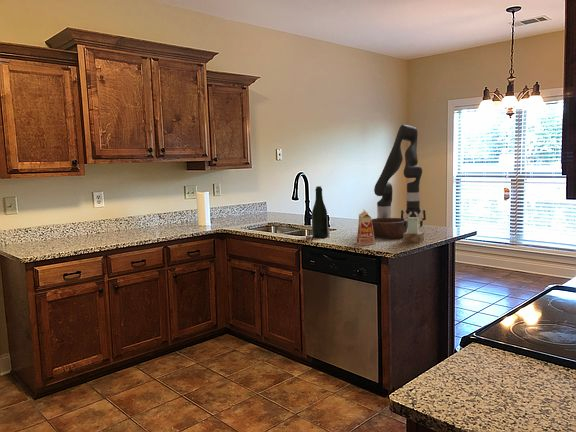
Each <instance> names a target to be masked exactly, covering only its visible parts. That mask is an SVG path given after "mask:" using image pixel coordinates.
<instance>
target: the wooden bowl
mask: <svg viewBox="0 0 576 432" xmlns="http://www.w3.org/2000/svg"><path fill="white" fill-rule="evenodd" d="M371 220H372V225H373V232H374V238H378V239H397V238H399V239H400V238H403V234H404V233H406V232H408V219H407V220H406V221H407V227H405V226H404V221H403V220H401V217H391V218H377V217H376V218H371Z"/></svg>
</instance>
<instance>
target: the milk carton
mask: <svg viewBox="0 0 576 432" xmlns="http://www.w3.org/2000/svg"><path fill="white" fill-rule="evenodd" d="M371 219H372V216H370V215H369V213H368V212H367V211H366V210H365V209H364V208H363V209H362V211H361V213H359V214H358V227H357V233H356V234H357V235H356V241H355V243H356V244H357V245H359V246H360V245H362V246H363V245H364V246H366V245H367V246H368V245H375V237H374V232H373V225H372V220H371Z"/></svg>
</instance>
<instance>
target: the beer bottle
mask: <svg viewBox="0 0 576 432" xmlns="http://www.w3.org/2000/svg"><path fill="white" fill-rule="evenodd" d="M314 201H315V202H314V205H313V207H312V211H311V236H312V237H313V238H315V239H325V238H328V236H329V221H328V211H327V208H326V205H325V202H324V197H323V188H322V186H321V185H320V186H319V185H317V186H315V200H314Z"/></svg>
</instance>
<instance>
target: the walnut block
mask: <svg viewBox="0 0 576 432" xmlns="http://www.w3.org/2000/svg"><path fill="white" fill-rule="evenodd" d="M424 240H425V232H424V231H418V234H408V231H407V232H406V233H404V234H403V237H402V242H403V243H420V244H421V242H423V241H424Z"/></svg>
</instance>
